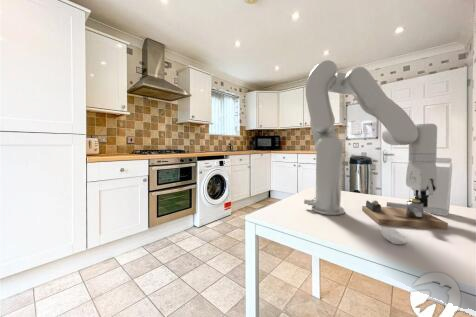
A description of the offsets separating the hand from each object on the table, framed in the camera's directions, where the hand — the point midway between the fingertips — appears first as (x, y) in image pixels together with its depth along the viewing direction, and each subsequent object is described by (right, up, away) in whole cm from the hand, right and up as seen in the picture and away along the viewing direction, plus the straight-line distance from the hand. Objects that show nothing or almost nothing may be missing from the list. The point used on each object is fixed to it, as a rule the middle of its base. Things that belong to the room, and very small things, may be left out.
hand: (420, 207), depth 75 cm
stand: (-8, -4, +1) cm, 9 cm away
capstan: (-5, -2, -3) cm, 7 cm away
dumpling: (-23, -6, -17) cm, 29 cm away
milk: (+12, -4, +6) cm, 14 cm away
